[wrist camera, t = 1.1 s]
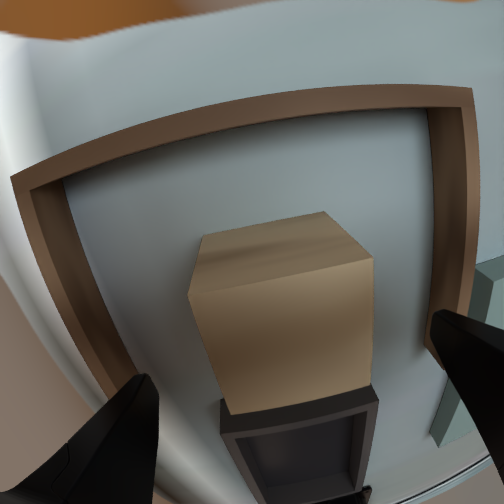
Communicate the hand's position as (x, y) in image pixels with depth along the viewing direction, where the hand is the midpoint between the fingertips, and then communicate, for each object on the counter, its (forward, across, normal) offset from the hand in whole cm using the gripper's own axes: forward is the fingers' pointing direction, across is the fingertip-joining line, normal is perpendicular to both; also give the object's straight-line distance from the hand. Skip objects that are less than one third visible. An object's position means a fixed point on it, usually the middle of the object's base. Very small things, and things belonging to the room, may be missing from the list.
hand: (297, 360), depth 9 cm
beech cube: (+5, 0, 0) cm, 5 cm away
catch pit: (+5, 0, +13) cm, 14 cm away
